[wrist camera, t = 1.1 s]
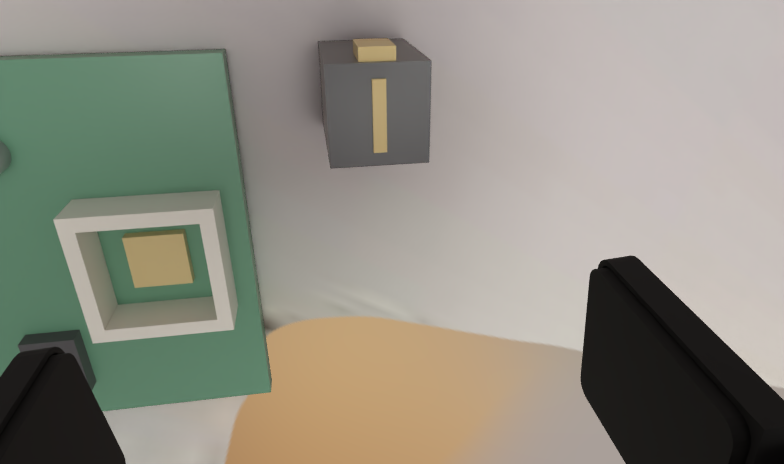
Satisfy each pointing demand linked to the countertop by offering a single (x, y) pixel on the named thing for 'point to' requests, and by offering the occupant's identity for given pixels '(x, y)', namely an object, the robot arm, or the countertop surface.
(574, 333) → the countertop surface
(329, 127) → the plug
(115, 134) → the board
